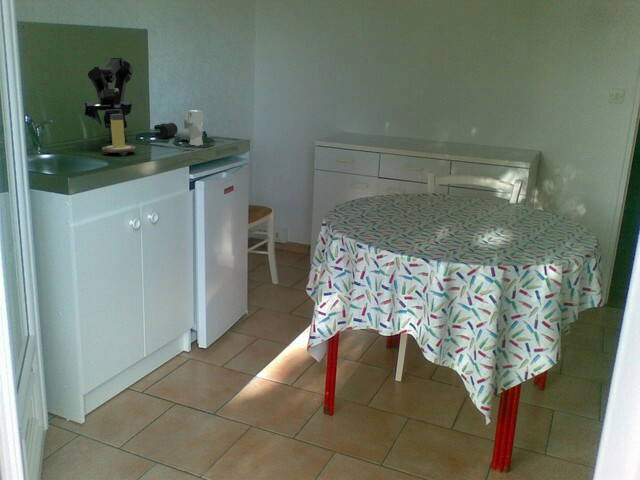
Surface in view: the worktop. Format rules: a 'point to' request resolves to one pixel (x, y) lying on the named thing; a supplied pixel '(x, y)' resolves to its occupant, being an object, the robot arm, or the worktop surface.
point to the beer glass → (195, 126)
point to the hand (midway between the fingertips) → (112, 124)
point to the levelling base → (118, 149)
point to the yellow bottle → (117, 130)
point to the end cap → (165, 130)
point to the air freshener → (185, 131)
